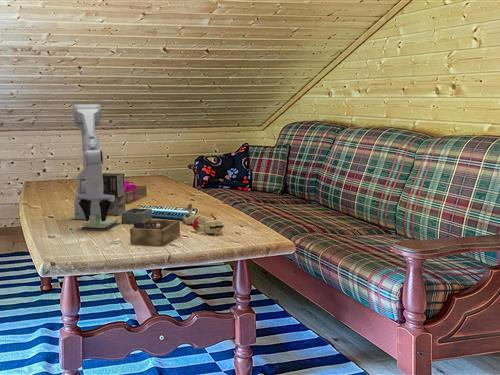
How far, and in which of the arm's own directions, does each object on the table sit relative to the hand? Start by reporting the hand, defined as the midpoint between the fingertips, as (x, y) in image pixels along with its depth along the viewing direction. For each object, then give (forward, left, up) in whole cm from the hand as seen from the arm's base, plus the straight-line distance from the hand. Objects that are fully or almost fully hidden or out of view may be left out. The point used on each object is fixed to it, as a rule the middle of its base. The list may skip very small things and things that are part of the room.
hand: (95, 220), depth 221 cm
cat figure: (+38, +8, -4) cm, 39 cm away
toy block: (-16, +60, -3) cm, 62 cm away
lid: (0, +3, -2) cm, 4 cm away
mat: (0, +4, -3) cm, 5 cm away
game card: (+26, -14, -3) cm, 30 cm away
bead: (+9, +17, -3) cm, 20 cm away
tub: (+9, +16, -3) cm, 18 cm away
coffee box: (-7, +28, -3) cm, 29 cm away
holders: (+5, +26, -3) cm, 27 cm away
